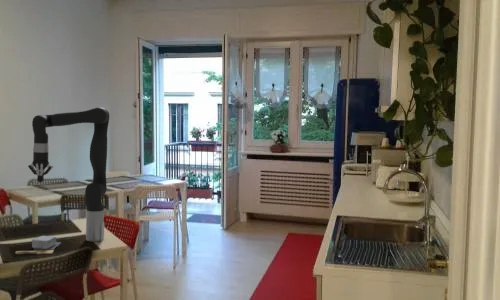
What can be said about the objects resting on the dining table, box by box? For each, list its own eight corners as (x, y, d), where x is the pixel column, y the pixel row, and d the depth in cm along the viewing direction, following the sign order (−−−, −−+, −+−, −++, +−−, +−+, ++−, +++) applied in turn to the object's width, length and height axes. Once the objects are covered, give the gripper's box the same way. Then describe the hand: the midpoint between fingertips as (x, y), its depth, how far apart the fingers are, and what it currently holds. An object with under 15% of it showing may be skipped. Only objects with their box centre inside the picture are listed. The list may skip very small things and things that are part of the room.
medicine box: (31, 247, 220) (46, 249, 218) (31, 239, 220) (46, 241, 218) (42, 243, 228) (56, 245, 226) (42, 235, 228) (56, 237, 226)
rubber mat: (61, 243, 232) (61, 242, 232) (53, 250, 220) (53, 249, 220) (42, 242, 231) (42, 241, 231) (33, 249, 219) (33, 248, 219)
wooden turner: (53, 251, 218) (53, 249, 218) (52, 253, 214) (52, 251, 214) (17, 252, 214) (17, 250, 213) (14, 255, 209) (14, 253, 209)
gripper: (55, 151, 239) (55, 181, 240) (31, 150, 237) (30, 180, 238) (50, 152, 231) (50, 183, 232) (25, 151, 230) (25, 182, 231)
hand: (40, 182), depth 235 cm, fingers closed
